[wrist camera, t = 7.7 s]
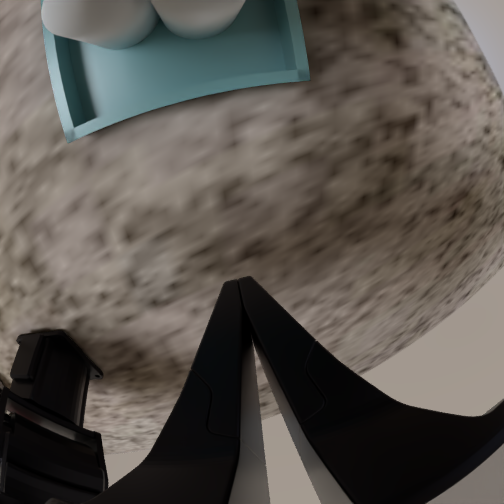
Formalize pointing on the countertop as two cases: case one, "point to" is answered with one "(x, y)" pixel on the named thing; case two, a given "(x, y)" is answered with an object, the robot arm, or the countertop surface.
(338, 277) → the countertop surface
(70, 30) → the white egg
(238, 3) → the white round piece
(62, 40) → the tray
